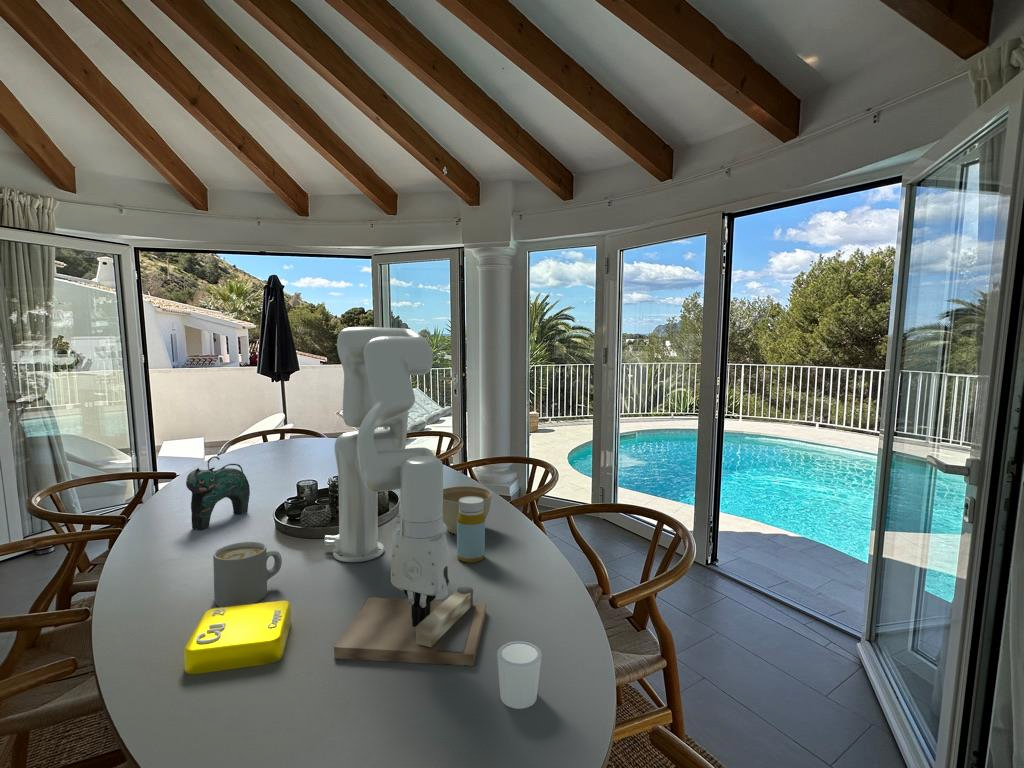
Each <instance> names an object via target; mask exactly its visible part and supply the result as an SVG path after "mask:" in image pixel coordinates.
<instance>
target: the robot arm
mask: <svg viewBox="0 0 1024 768" xmlns="http://www.w3.org/2000/svg"><path fill="white" fill-rule="evenodd" d="M336 347H337V354H338V357H339V360H340V361H339V362H340V363H341V366H342V370H343V393H342V418H343V422H344V424H345V425H346V426H347V427H349V428H352V429H358V430H353V431H352V430H351V431H347V432H344V433H342V434H340V435H339V436H337V438H336V439H335V442H334V456H335V463H336V468H337V478H338V479H337V480H338V534H337V535H332V534H330V535H329V534H325V535H324V539H323V542H324V546H333V547H334V548H333V550H332V557H333V558H334V559H336V560H337V561H339V562H343V563H362V562H369V561H371V560H374V559H376V558H379V557H381V556H382V554H384V552H385V545H384V544H383V543H381V542H380V541H378V540H379V538H378V535H379V533H378V525H379V523H378V522H379V520H378V518H379V517H378V515H379V514H378V509H379V508H378V507H379V506H378V505H379V504H378V503H379V502H378V501H379V500H378V499H379V498H378V497H379V496H378V495H379V494H378V493H380V492H388V491H389V492H390V491H396V490H400V491H399V492H400V496H399V499H400V500H399V501H400V502H399V503H400V504H399V505H400V508H399V509H400V512H399V514H398V515H396V517H395V523H398V524H399V530H397V531H396V533H395V536H394V542H393V546H392V552H391V560H390V561H391V562H390V583H391V584H392V586H393V587H395V588H396V589H398V590H399V591H402V592H403V593H404V595H406V597H407V599H408V601H409V604H411V605H412V626H413V627H416V626H417V625H418V624H419V623H420V622H422V621H423V620H424V619H425V618H426V617H427V616H428V615H429V614H430V602H431V601H433V600H435V601H439V600H444V599H445V600H446V599H447V598H448V597H449V590H448V585H450V578H451V577H450V576H451V575H450V573H451V571H450V568H451V567H450V566H451V564H450V553H449V544H448V539H447V535H446V533H445V532H443V525H444V524H443V523H444V522H443V489H444V464H443V462H442V460H441V459H440V458H438V457H437V456H436V455H435V454H434V453H433V451H432V450H431V449H429V448H428V447H409V448H408V447H407V446H406V444H407V433H408V421H409V410H411V409H412V407H413V406H414V405H415V403H416V397H415V391H414V389H413V385H412V383H413V382H412V380H411V376H424V375H427V374H428V373H430V371H431V370H432V367H433V363H434V357H433V351H432V348H431V346H430V344H429V342H428V340H426V338H425V337H423V336H422V335H420V334H419V333H418V332H415V331H414V330H412V329H409V328H404V327H403V328H402V327H401V328H399V327H377V326H351V327H345V328H343V329H341V330H340V332H339V333H338V335H337V341H336ZM378 428H382V429H378Z"/></svg>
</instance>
